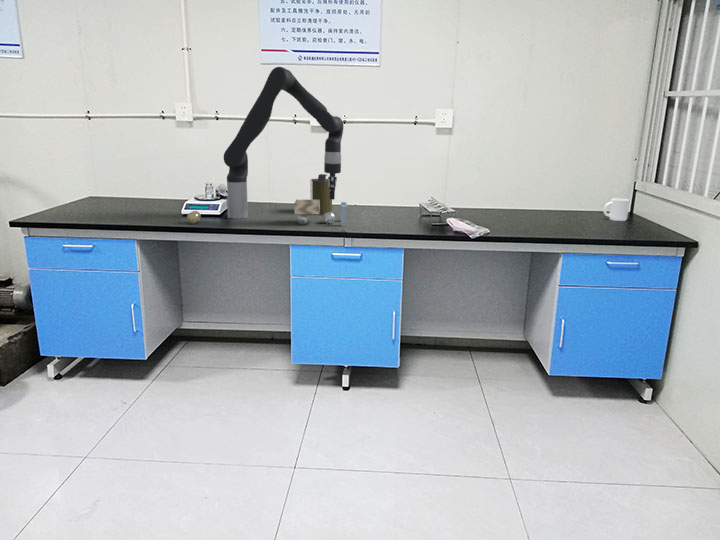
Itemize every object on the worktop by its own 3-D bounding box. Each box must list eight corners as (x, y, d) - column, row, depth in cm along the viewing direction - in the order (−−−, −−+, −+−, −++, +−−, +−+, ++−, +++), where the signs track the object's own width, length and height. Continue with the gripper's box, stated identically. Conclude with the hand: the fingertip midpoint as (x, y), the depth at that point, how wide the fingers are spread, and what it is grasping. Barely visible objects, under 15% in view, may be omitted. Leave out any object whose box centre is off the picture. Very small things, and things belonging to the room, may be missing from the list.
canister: (333, 212, 288) (333, 173, 282) (330, 216, 278) (330, 175, 272) (313, 212, 289) (312, 173, 283) (309, 215, 279) (308, 175, 273)
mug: (605, 220, 277) (607, 200, 274) (598, 218, 285) (601, 198, 282) (629, 221, 277) (632, 200, 274) (622, 218, 285) (625, 198, 282)
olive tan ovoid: (197, 212, 251) (198, 223, 252) (200, 210, 257) (201, 221, 258) (186, 212, 251) (187, 223, 252) (189, 210, 257) (190, 221, 258)
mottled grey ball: (323, 213, 254) (334, 213, 254) (323, 211, 260) (334, 211, 260) (323, 224, 255) (335, 224, 255) (324, 222, 261) (334, 222, 261)
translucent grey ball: (307, 224, 255) (296, 223, 254) (308, 222, 261) (297, 221, 260) (308, 214, 254) (297, 212, 253) (309, 211, 259) (298, 210, 259)
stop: (341, 225, 252) (341, 206, 249) (340, 220, 265) (341, 201, 263) (346, 226, 252) (347, 206, 249) (346, 220, 265) (346, 201, 263)
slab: (294, 214, 250) (294, 203, 249) (296, 210, 262) (296, 199, 261) (319, 214, 251) (319, 203, 250) (319, 210, 262) (319, 199, 261)
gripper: (324, 160, 258) (324, 195, 262) (324, 163, 244) (323, 200, 248) (340, 161, 258) (340, 196, 262) (341, 163, 244) (340, 200, 248)
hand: (332, 198), depth 255 cm, fingers open, 8 cm apart
